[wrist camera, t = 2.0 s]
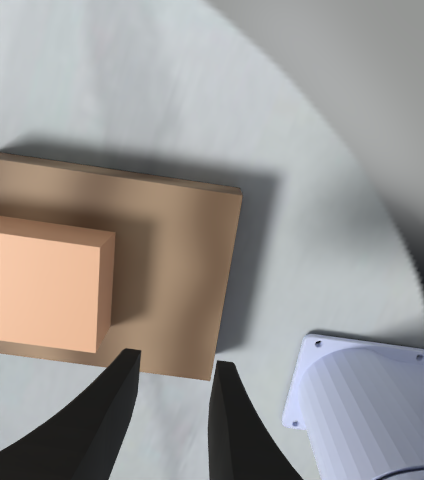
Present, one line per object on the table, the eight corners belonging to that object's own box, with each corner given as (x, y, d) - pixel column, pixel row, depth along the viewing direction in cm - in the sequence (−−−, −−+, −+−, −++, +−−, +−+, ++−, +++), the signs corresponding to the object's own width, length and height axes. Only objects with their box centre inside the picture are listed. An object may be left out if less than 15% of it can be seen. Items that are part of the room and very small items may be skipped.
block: (115, 232, 18) (99, 247, 16) (110, 326, 20) (95, 353, 17) (-33, 211, 18) (-72, 223, 15) (-24, 308, 20) (-58, 332, 17)
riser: (239, 188, 20) (242, 195, 17) (211, 355, 23) (210, 380, 21) (-7, 151, 19) (-38, 154, 17) (4, 328, 23) (-21, 350, 21)
